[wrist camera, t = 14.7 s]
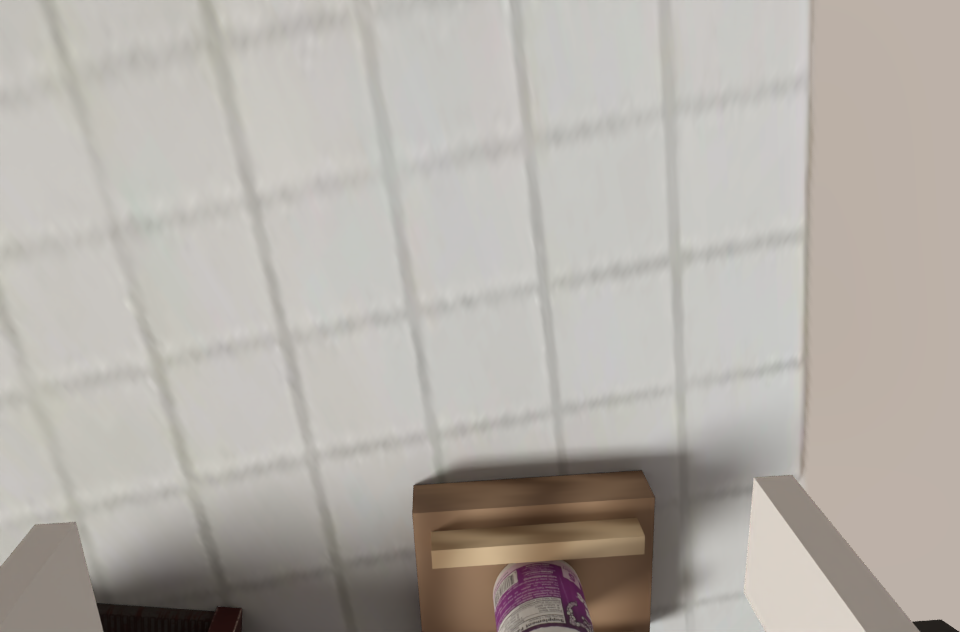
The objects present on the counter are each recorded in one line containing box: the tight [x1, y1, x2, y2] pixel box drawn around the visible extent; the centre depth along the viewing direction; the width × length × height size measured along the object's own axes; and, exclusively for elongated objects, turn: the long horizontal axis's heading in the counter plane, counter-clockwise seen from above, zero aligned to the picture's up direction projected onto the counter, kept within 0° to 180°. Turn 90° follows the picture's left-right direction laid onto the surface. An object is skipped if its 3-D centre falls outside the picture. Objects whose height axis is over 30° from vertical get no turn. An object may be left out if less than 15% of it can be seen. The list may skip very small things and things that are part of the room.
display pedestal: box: [412, 470, 655, 632], centre depth 48 cm, size 14×12×5 cm
